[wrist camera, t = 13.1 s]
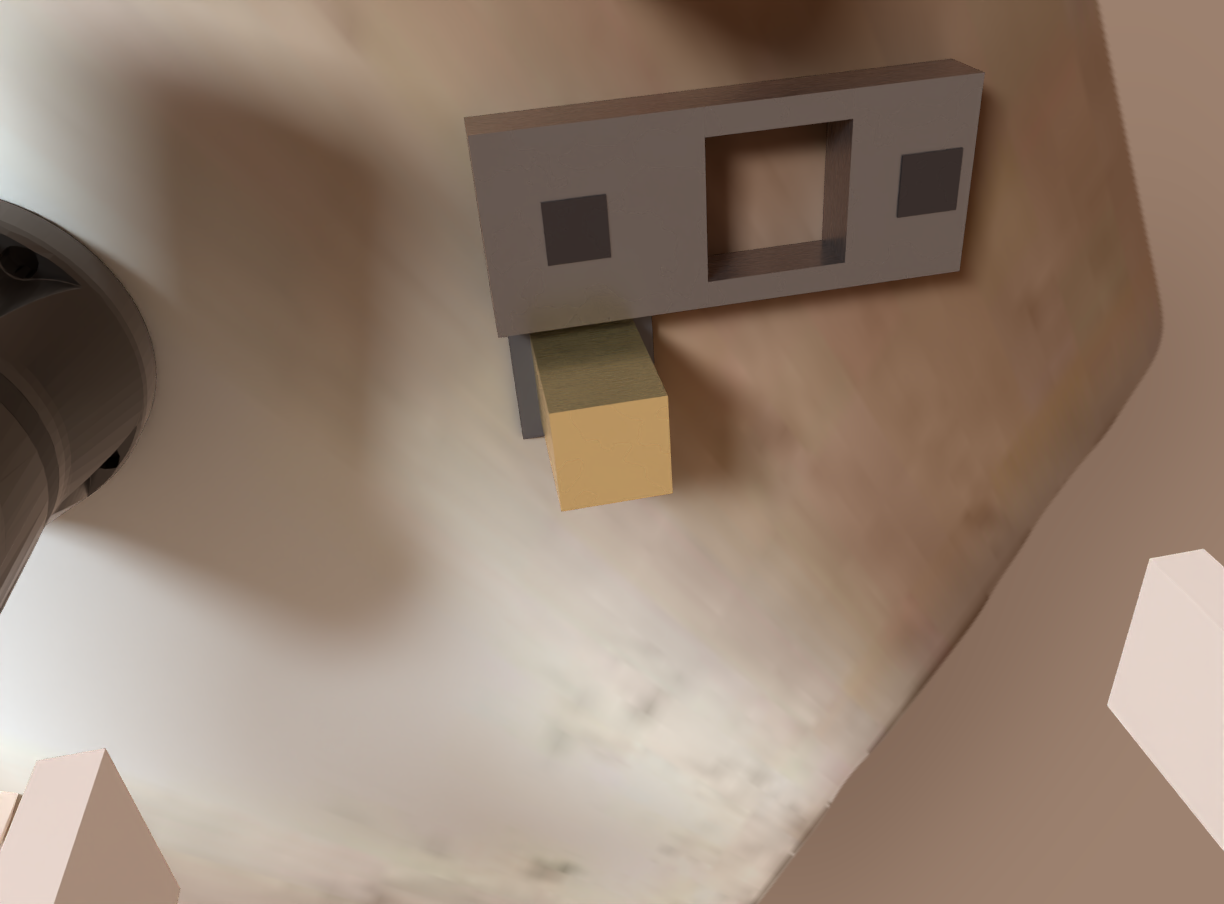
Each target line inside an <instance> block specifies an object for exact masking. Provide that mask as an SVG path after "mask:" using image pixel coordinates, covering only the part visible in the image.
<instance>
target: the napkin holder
mask: <svg viewBox="0 0 1224 904" xmlns="http://www.w3.org/2000/svg"><path fill="white" fill-rule="evenodd" d="M17 796H18V793H12V792H5V791H0V845H1V843H2V840H3V838H4V835H5V833H6V830H7V828H8V825H9V823H10V820H11V817H12V814H13V810H14V807H15V803H16V800H17Z"/></svg>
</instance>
